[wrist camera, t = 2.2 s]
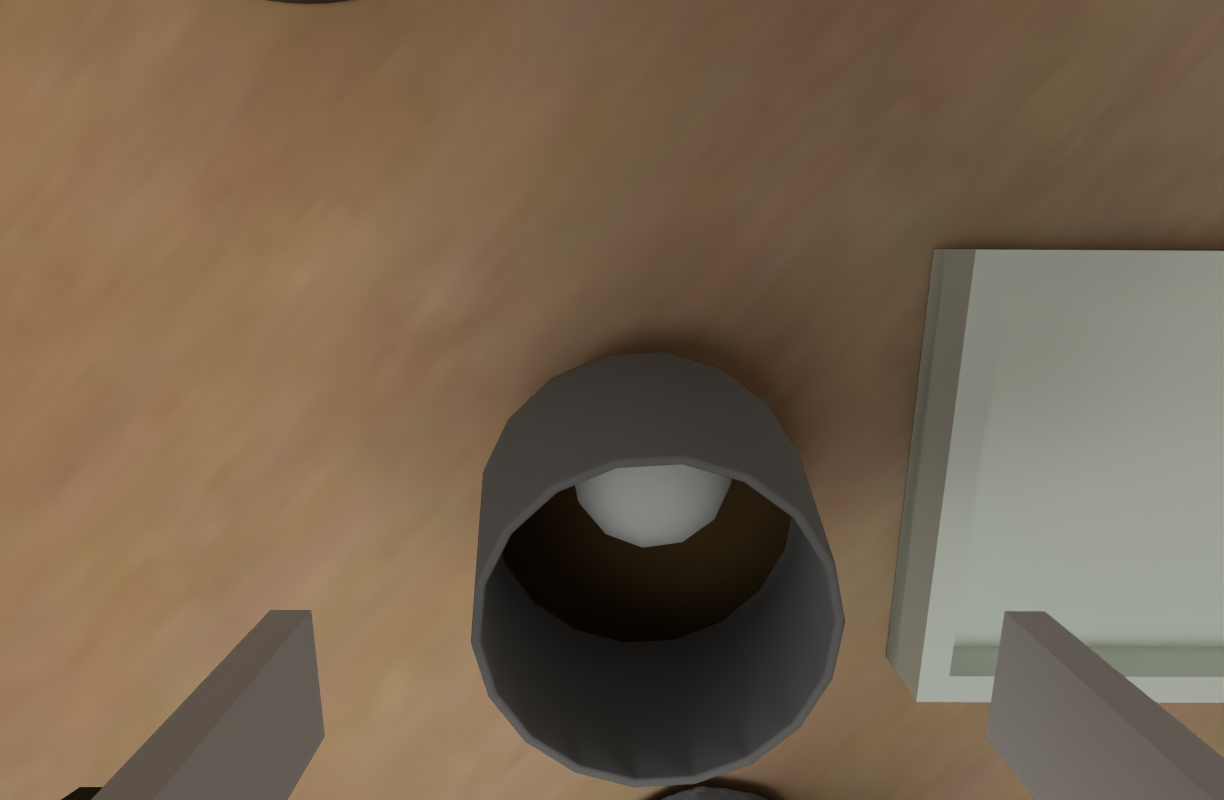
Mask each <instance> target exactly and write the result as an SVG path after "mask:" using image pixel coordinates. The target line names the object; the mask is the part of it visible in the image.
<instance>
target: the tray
mask: <svg viewBox="0 0 1224 800" xmlns="http://www.w3.org/2000/svg"><path fill="white" fill-rule="evenodd" d="M1005 611H1045V612H1046V613H1047V614H1049V615H1050V616H1051V617H1052V618H1054V619H1055V620H1056V621H1057V622H1058V623H1060V624H1061V625H1062V626H1063V627H1065V628H1066V629H1067V630H1068V631H1069V632H1071V633H1072V634H1073V635H1074V636H1076V637H1077V638H1078V639H1079V640H1080V641H1082V642H1083V643H1084V644H1085V645H1086V646H1088V647H1089V648H1090V649H1091V650H1093V651H1094V652H1095V653H1096V654H1097V655H1099V656H1100V657H1101V658H1102V659H1104V660H1105V661H1106V662H1107V663H1108V664H1110V665H1111V666H1112V667H1113V668H1114V669H1116V670H1117V671H1118V672H1119V673H1121V674H1122V675H1123V676H1124V677H1125V678H1127V679H1128V680H1129V681H1130V682H1132V683H1133V684H1134V685H1135V686H1136V687H1138V688H1139V689H1140V690H1141V691H1143V692H1144V693H1145V694H1146V695H1147V696H1149V697H1150V698H1151V699H1152V700H1153V701H1155V702H1165V703H1224V251H1211V250H1023V249H934V251H933V259H932V268H931V276H930V285H929V294H928V302H927V311H926V319H925V328H924V336H923V345H922V353H921V362H920V370H919V379H918V387H917V396H916V404H915V413H914V422H913V430H912V439H911V447H910V456H909V464H908V473H907V481H906V490H905V498H904V507H903V515H902V524H901V532H900V541H899V550H898V558H897V567H896V575H895V584H894V592H893V601H892V609H891V618H890V626H889V635H888V643H887V652H886V658H887V659H888V661H889V662H890V664H891V665H892V667H893V668H894V670H895V671H896V672H897V674H898V675H899V677H900V678H901V680H902V681H903V683H904V684H905V686H906V687H907V689H908V690H909V692H910V693H911V695H912V696H913V698H914V699H915V701H916V702H991V698H992V691H993V684H994V678H995V671H996V665H997V658H998V652H999V645H1000V639H1001V632H1002V626H1003V619H1004V612H1005Z"/></svg>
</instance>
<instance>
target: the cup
mask: <svg viewBox="0 0 1224 800" xmlns="http://www.w3.org/2000/svg"><path fill="white" fill-rule="evenodd" d="M844 624H845V619H844V613H843V607H842V601H841V595H840V590H839V584H838V578H837V572H836V566H835V562H834V559H833V556H832V553H831V550H830V547H829V544H828V541H827V538H826V535H825V532H824V529H823V526H822V523H821V520H820V517H819V514H818V511H817V508H816V505H815V502H814V499H813V496H812V493H811V490H810V487H809V484H808V481H807V478H806V475H805V472H804V469H803V466H802V463H801V460H800V457H799V454H798V453H797V451H796V450H795V448H794V446H793V445H792V443H791V441H790V440H789V438H788V437H787V435H786V433H785V432H784V430H783V429H782V427H781V425H780V424H779V422H778V420H777V419H776V417H775V416H774V414H773V412H772V411H771V409H770V408H769V406H768V404H766V403H765V402H764V401H762V400H761V399H760V398H758V397H757V396H756V395H754V394H753V393H752V392H750V391H749V390H748V389H746V388H745V387H744V386H742V385H741V384H740V383H739V382H737V381H736V380H735V379H733V378H732V377H731V376H729V375H728V374H727V373H725V372H724V371H723V370H721V369H719V368H716V367H713V366H710V365H706V364H703V363H700V362H696V361H693V360H690V359H686V358H683V357H679V356H676V355H673V354H669V353H666V352H651V353H634V354H617V355H604V356H602V357H600V358H597V359H595V360H593V361H590V362H588V363H586V364H583V365H581V366H579V367H576V368H574V369H572V370H569V371H567V372H565V373H562V374H560V375H558V376H555V377H553V378H551V379H550V380H549V381H548V382H547V383H546V384H545V385H544V386H543V387H542V388H541V389H540V390H539V391H538V392H537V393H536V394H534V395H533V396H532V397H531V398H530V399H529V400H528V401H527V402H526V403H525V404H524V405H523V406H522V407H521V408H520V409H519V410H518V411H516V412H515V413H514V414H513V415H512V416H511V417H510V418H509V419H508V421H507V423H506V425H505V428H504V430H503V432H502V434H501V436H500V438H499V440H498V442H497V444H496V446H495V448H494V450H493V452H492V455H491V457H490V459H489V461H488V463H487V465H486V467H485V469H484V472H483V482H482V495H481V509H480V522H479V536H478V550H477V564H476V578H475V592H474V606H473V620H472V634H471V644H472V647H473V650H474V653H475V656H476V659H477V662H478V665H479V668H480V671H481V674H482V678H483V681H484V684H485V687H486V690H487V693H488V696H489V698H490V699H491V700H492V701H493V702H494V704H495V705H496V706H497V707H498V709H499V710H500V711H501V712H502V714H503V715H504V716H505V717H506V718H507V720H508V721H509V722H510V723H511V725H512V726H513V727H514V728H515V730H516V731H517V732H518V733H519V735H520V736H521V737H522V738H523V739H524V741H525V742H527V743H528V744H530V745H532V746H533V747H535V748H537V749H538V750H540V751H541V752H543V753H545V754H546V755H548V756H550V757H551V758H553V759H554V760H556V761H558V762H559V763H561V764H563V765H564V766H566V767H567V768H569V769H571V770H572V771H574V772H576V773H580V774H584V775H588V776H592V777H596V778H600V779H604V780H608V781H612V782H616V783H620V784H624V785H628V786H632V787H645V786H664V785H684V784H696V783H699V782H702V781H705V780H708V779H710V778H713V777H716V776H719V775H721V774H724V773H727V772H730V771H733V770H735V769H738V768H741V767H744V766H747V765H749V764H752V763H754V762H755V761H756V760H758V759H759V758H760V757H761V756H763V755H764V754H765V753H767V752H768V751H769V750H771V749H772V748H773V747H775V746H776V745H777V744H779V743H780V742H781V741H782V740H784V739H785V738H786V737H788V736H789V735H790V734H792V733H793V732H794V731H796V730H797V729H798V728H800V726H801V725H802V723H803V722H804V720H805V719H806V717H807V716H808V714H809V713H810V711H811V710H812V708H813V707H814V705H815V704H816V702H817V701H818V699H819V698H820V696H821V695H822V693H823V692H824V690H825V689H826V687H827V686H828V684H829V683H830V681H831V680H832V678H833V673H834V669H835V664H836V660H837V656H838V651H839V647H840V642H841V638H842V633H843V629H844Z"/></svg>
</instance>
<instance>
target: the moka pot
mask: <svg viewBox="0 0 1224 800" xmlns="http://www.w3.org/2000/svg"><path fill="white" fill-rule="evenodd" d="M661 800H768V799H766V798H764V797H762V796H760V795H757V794H754V793H751V792H743V791H736V790H732V789H727V788H718V787H717V788H711V787H708V786H695V787H694V788H693V789H687V790H684V791H681V792H678V793H676V794H674V795H669V796H667V797H665V798H663V799H661Z"/></svg>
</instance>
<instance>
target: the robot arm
mask: <svg viewBox="0 0 1224 800" xmlns="http://www.w3.org/2000/svg"><path fill="white" fill-rule="evenodd" d="M270 1H278V2H286V3H327V2H336V1H344V0H270ZM324 737H325V735H324V725H323V716H322V707H321V697H320V688H319V679H318V669H317V660H316V651H315V641H314V632H313V623H312V613H311V610H270V611H269V612H268V613H267V614H266V615H265V616H264V617H263V619H262V620H261V621H260V622H259V623H258V624H257V625H256V626H255V627H254V628H253V629H252V630H251V631H250V632H249V633H248V634H247V635H246V636H245V638H244V639H243V640H242V641H241V642H240V643H239V644H238V645H237V646H236V647H235V648H234V649H233V650H232V651H231V652H230V653H229V654H228V656H227V657H226V658H225V659H224V660H223V661H222V662H221V663H220V664H219V665H218V666H217V667H216V668H215V669H214V670H213V671H212V672H211V674H210V675H209V676H208V677H207V678H206V679H205V680H204V681H203V682H202V683H201V684H200V685H199V686H198V687H197V688H196V689H195V690H194V691H193V693H192V694H191V695H190V696H189V697H188V698H187V699H186V700H185V701H184V702H183V703H182V704H181V705H180V706H179V707H178V708H177V709H176V711H175V712H174V713H173V714H172V715H171V716H170V717H169V718H168V719H167V720H166V721H165V722H164V723H163V724H162V725H161V726H160V727H159V728H158V730H157V731H156V732H155V733H154V734H153V735H152V736H151V737H150V738H149V739H148V740H147V741H146V742H145V743H144V744H143V745H142V746H141V748H140V749H139V750H138V751H137V752H136V753H135V754H134V755H133V756H132V757H131V758H130V759H129V760H128V761H127V762H126V763H125V764H124V766H123V767H122V768H121V769H120V770H119V771H118V772H117V773H116V774H115V775H114V776H113V777H112V778H111V779H110V780H109V781H108V782H107V783H106V785H105V786H104V787H79V788H78V789H76V790H75V791H73V792H72V793H71V794H69V795H68V796H66V797H65V798H63V799H62V800H288V798H289V796H290V794H291V793H292V791H293V789H294V788H295V786H296V784H297V783H298V781H299V779H300V777H301V776H302V774H303V772H304V771H305V769H306V767H307V765H308V764H309V762H310V760H311V759H312V757H313V755H314V754H315V752H316V750H317V748H318V747H319V745H320V743H321V742H322V740H323V738H324ZM986 738H987V739H988V740H989V741H990V743H991V744H992V745H993V747H994V748H995V749H996V750H997V752H998V753H999V754H1000V756H1001V757H1002V758H1003V759H1004V761H1005V762H1006V763H1007V764H1008V766H1009V767H1010V768H1011V770H1012V771H1013V772H1014V773H1015V775H1016V776H1017V777H1018V779H1019V780H1020V781H1021V782H1022V784H1023V785H1024V786H1025V788H1026V789H1027V790H1028V791H1029V793H1030V794H1031V795H1032V797H1033V798H1034V799H1035V800H1224V758H1223V757H1222V756H1221V755H1219V754H1218V753H1217V752H1216V751H1214V750H1213V749H1212V748H1211V747H1210V746H1208V745H1207V744H1206V743H1205V742H1203V741H1202V740H1201V739H1200V738H1199V737H1197V736H1196V735H1195V734H1194V733H1192V732H1191V731H1190V730H1189V729H1188V728H1186V727H1185V726H1184V725H1183V724H1182V723H1180V722H1179V721H1178V720H1177V719H1175V718H1174V717H1173V716H1172V715H1171V714H1169V713H1168V712H1167V711H1166V710H1164V709H1163V708H1162V707H1161V706H1160V705H1158V704H1157V703H1156V702H1155V701H1153V700H1152V699H1151V698H1150V697H1149V696H1147V695H1146V694H1145V693H1144V692H1143V691H1141V690H1140V689H1139V688H1138V687H1136V686H1135V685H1134V684H1133V683H1132V682H1130V681H1129V680H1128V679H1127V678H1125V677H1124V676H1123V675H1122V674H1121V673H1119V672H1118V671H1117V670H1116V669H1114V668H1113V667H1112V666H1111V665H1110V664H1108V663H1107V662H1106V661H1105V660H1104V659H1102V658H1101V657H1100V656H1099V655H1097V654H1096V653H1095V652H1094V651H1093V650H1091V649H1090V648H1089V647H1088V646H1086V645H1085V644H1084V643H1083V642H1082V641H1080V640H1079V639H1078V638H1077V637H1076V636H1074V635H1073V634H1072V633H1071V632H1069V631H1068V630H1067V629H1066V628H1065V627H1063V626H1062V625H1061V624H1060V623H1058V622H1057V621H1056V620H1055V619H1054V618H1052V617H1051V616H1050V615H1049V614H1047V613H1046V612H1045V611H1005V612H1004V619H1003V626H1002V632H1001V639H1000V645H999V652H998V658H997V665H996V671H995V678H994V684H993V691H992V698H991V704H990V711H989V717H988V724H987V730H986Z"/></svg>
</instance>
